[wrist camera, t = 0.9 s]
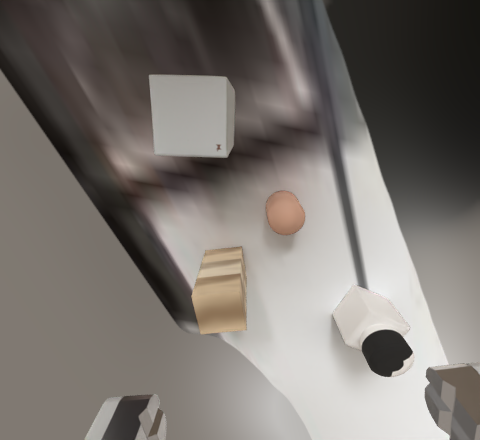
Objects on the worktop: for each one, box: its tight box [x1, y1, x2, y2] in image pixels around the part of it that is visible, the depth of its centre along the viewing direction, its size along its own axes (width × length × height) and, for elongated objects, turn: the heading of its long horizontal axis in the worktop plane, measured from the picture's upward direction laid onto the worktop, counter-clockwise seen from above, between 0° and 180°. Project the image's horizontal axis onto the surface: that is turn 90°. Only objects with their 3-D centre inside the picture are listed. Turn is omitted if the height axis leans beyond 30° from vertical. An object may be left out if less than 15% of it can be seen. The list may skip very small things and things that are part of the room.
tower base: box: [202, 247, 246, 286], centre depth 43 cm, size 6×6×4 cm
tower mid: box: [197, 259, 246, 304], centre depth 39 cm, size 6×6×4 cm
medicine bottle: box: [333, 285, 414, 377], centre depth 42 cm, size 7×7×12 cm
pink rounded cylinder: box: [266, 191, 305, 235], centre depth 39 cm, size 5×5×5 cm
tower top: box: [191, 273, 246, 334], centre depth 36 cm, size 6×6×4 cm
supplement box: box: [149, 75, 235, 158], centre depth 31 cm, size 7×7×13 cm
